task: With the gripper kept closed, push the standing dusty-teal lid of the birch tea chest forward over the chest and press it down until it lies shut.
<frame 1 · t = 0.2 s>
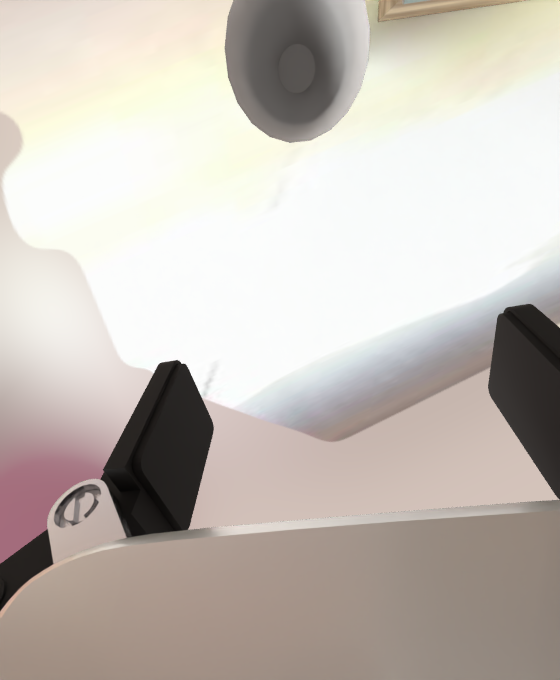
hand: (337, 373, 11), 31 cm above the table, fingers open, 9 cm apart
chalice: (296, 77, 32), on the table
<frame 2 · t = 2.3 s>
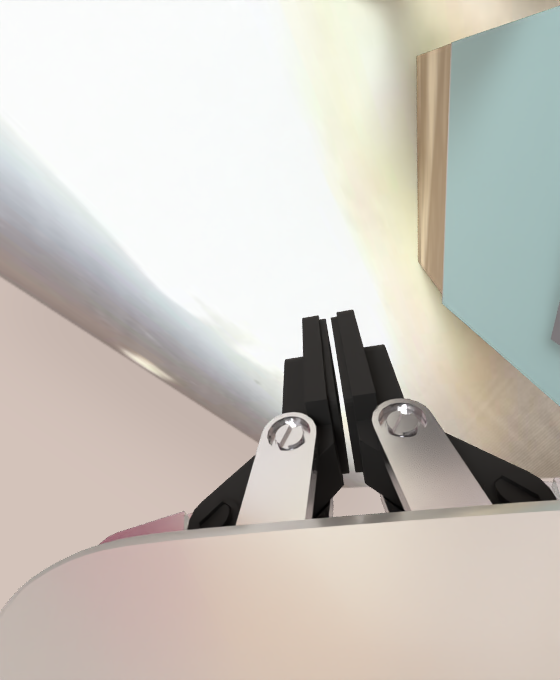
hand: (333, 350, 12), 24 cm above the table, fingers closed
lid: (517, 223, 17), point 15 cm above the table, hinge at 80.0°
chest: (506, 153, 29), on the table
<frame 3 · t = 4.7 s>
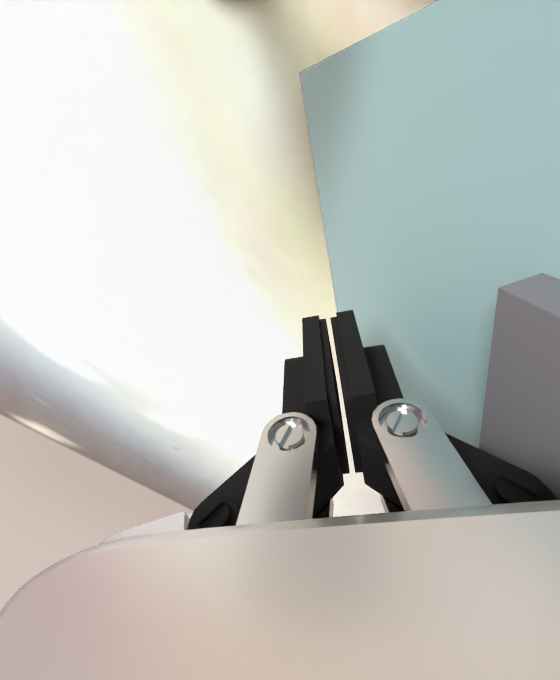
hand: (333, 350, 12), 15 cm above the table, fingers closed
lid: (408, 343, 11), point 15 cm above the table, hinge at 73.4°, touching gripper
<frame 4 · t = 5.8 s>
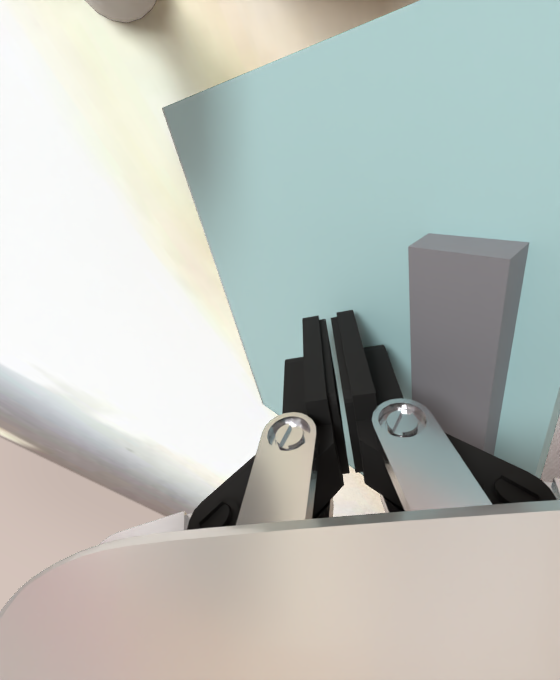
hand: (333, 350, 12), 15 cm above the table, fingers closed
lid: (321, 328, 13), point 14 cm above the table, hinge at 46.8°
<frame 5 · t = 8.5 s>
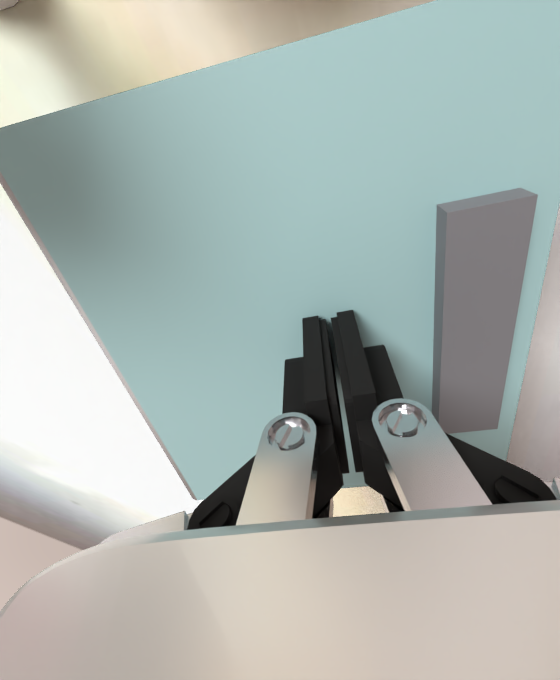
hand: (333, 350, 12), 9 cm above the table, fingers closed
lid: (304, 350, 12), point 9 cm above the table, hinge at 0.4°, touching gripper
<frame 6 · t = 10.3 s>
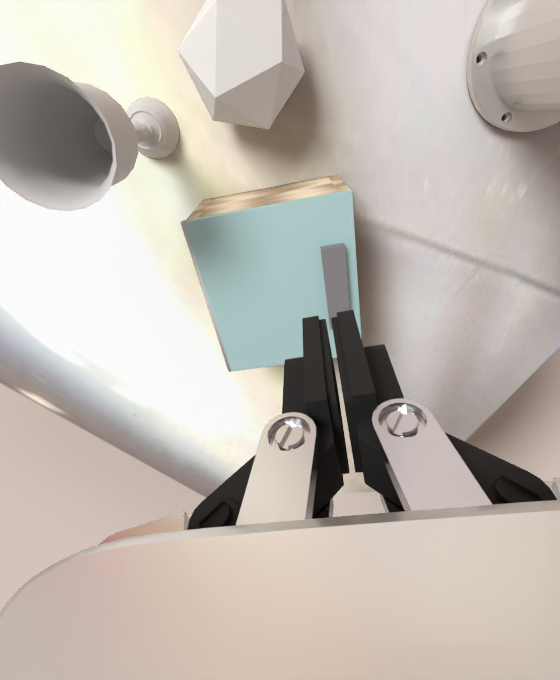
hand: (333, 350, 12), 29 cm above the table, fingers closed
lid: (280, 295, 33), point 9 cm above the table, hinge at 0.3°
chalice: (153, 129, 34), on the table
chest: (282, 261, 41), on the table
die: (248, 67, 31), on the table
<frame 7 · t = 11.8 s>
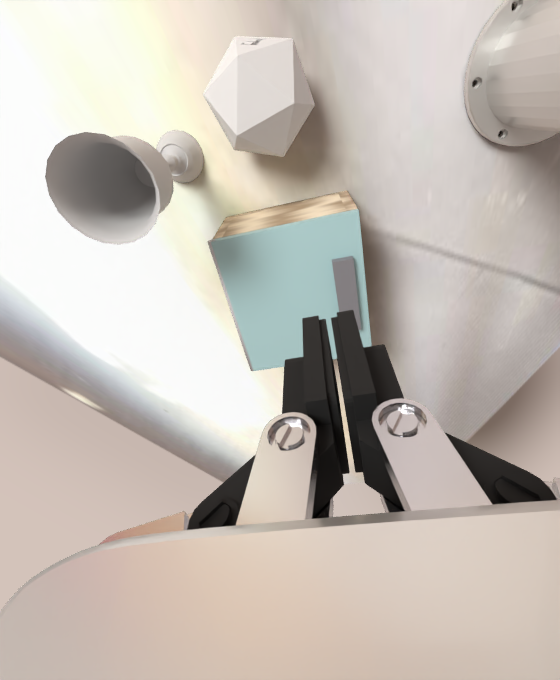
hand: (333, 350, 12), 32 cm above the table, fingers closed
lid: (296, 303, 37), point 9 cm above the table, hinge at 0.3°
chalice: (180, 157, 38), on the table
chest: (298, 269, 44), on the table
die: (264, 99, 35), on the table
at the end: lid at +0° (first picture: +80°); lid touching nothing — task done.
